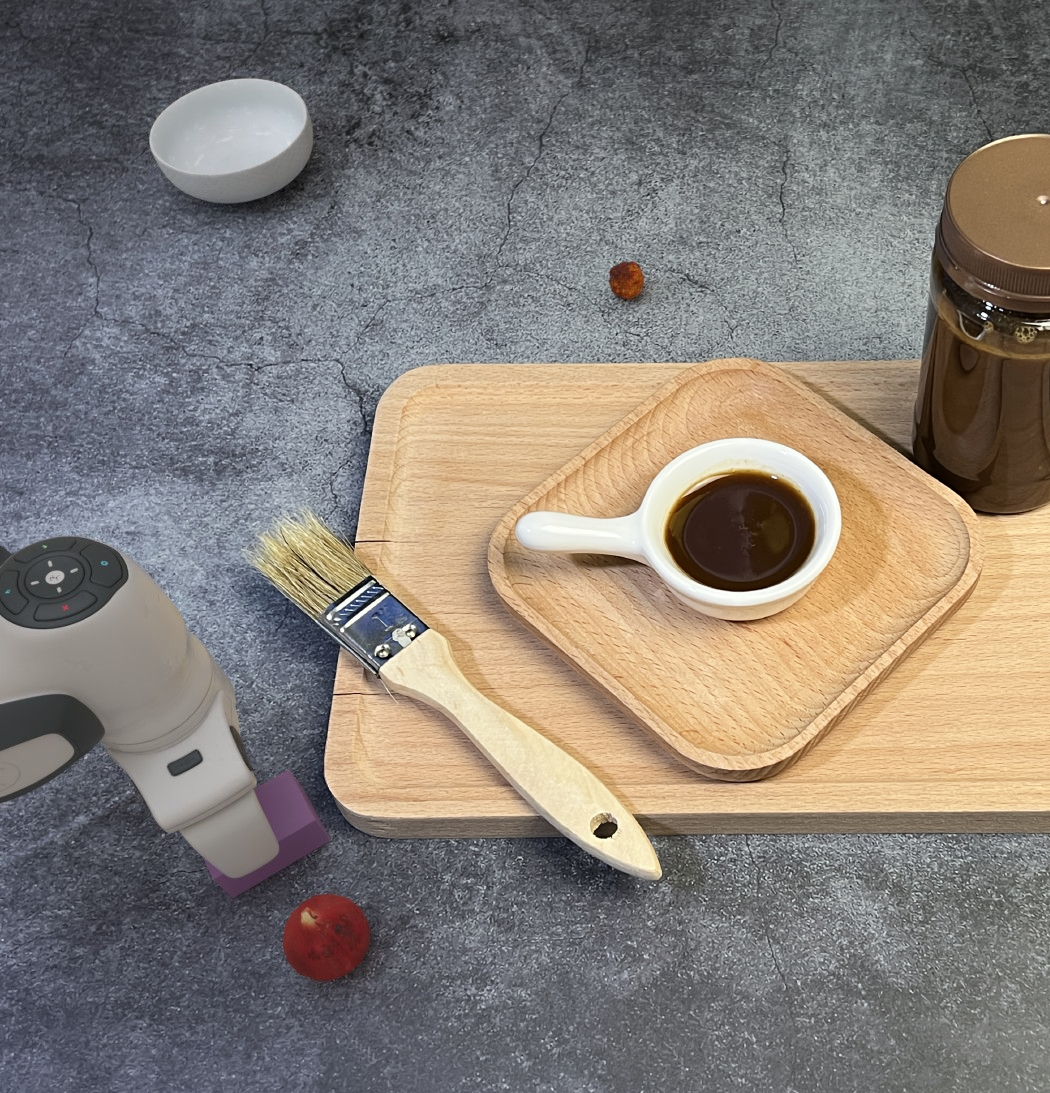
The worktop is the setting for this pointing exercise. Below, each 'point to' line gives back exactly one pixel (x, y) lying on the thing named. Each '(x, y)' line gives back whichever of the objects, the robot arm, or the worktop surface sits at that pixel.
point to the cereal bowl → (233, 140)
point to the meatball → (626, 279)
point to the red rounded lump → (326, 937)
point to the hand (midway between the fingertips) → (234, 789)
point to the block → (280, 831)
